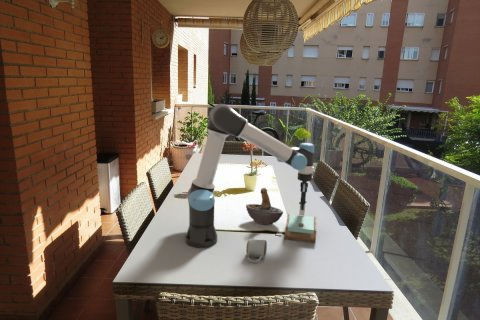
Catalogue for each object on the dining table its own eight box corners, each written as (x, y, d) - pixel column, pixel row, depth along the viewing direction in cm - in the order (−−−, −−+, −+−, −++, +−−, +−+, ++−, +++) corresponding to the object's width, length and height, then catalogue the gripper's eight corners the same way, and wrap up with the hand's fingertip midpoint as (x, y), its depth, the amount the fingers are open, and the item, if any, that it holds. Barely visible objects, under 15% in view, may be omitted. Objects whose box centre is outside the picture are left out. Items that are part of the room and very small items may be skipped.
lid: (313, 234, 166) (314, 228, 165) (287, 231, 168) (288, 225, 168) (313, 220, 182) (313, 215, 181) (289, 218, 184) (290, 212, 184)
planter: (244, 219, 192) (245, 184, 187) (271, 216, 198) (273, 182, 193) (254, 230, 178) (256, 193, 174) (283, 226, 184) (286, 190, 180)
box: (315, 242, 167) (316, 230, 165) (284, 239, 170) (285, 227, 168) (315, 227, 184) (316, 216, 183) (287, 224, 187) (287, 213, 185)
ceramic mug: (248, 250, 157) (249, 235, 155) (266, 253, 155) (267, 237, 153) (243, 262, 147) (244, 246, 145) (262, 265, 145) (263, 248, 143)
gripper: (312, 176, 175) (308, 220, 180) (312, 170, 187) (308, 211, 193) (297, 175, 176) (294, 218, 181) (298, 169, 189) (295, 209, 194)
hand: (301, 214), depth 187 cm, fingers closed
